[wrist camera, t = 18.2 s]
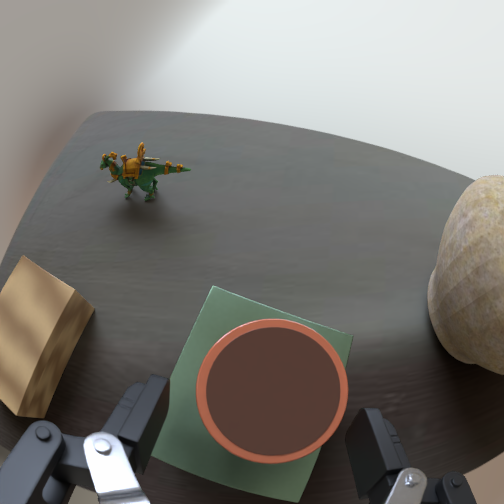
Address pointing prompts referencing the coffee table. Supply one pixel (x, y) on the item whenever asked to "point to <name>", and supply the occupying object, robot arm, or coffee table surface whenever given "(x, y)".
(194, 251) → the coffee table surface
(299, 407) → the cup
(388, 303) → the coffee table surface
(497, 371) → the vase
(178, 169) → the figurine
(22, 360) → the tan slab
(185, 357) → the green miniature table
